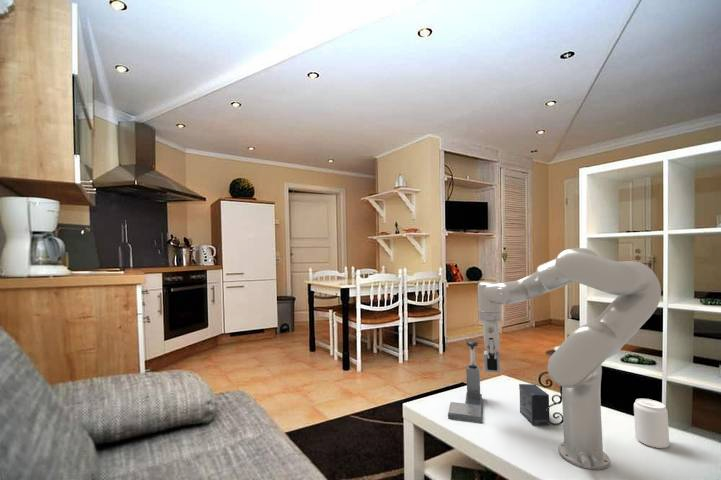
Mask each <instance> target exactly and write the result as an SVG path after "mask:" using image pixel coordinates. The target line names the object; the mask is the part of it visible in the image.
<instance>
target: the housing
mask: <svg viewBox="0 0 721 480" xmlns="http://www.w3.org/2000/svg"><path fill="white" fill-rule="evenodd" d="M493 350H494V349H493ZM499 351H500V350H499ZM499 351H498V350H496V359H497V371H495V370H488V368H487V358H488V351H487V350H483V359H484V364H483V365H484V372H487V373H498V374H499V373H501V368H500V367H501V363H500V362H501V361H500V353H499ZM489 352H490V351H489Z"/></svg>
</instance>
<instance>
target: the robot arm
mask: <svg viewBox="0 0 721 480" xmlns="http://www.w3.org/2000/svg"><path fill="white" fill-rule="evenodd" d="M573 283H577V284H580V285H583V286H587V287H589V288H592V289H595V290H597V291H601V292H603V293H607V294H610V295H614V296H617V297H616V298H615V299H614V300H613V301H611V302H610V303H609V304H608V305H607V306H606V308H605V309H604V310H603V311H602V312H601V314H599V315H598V317H596V318H595V319H594V320H593V321H591V322H588V323H586V324H583V325H581V326H579V327H576V329H575V330H573V331H572V332H571V333H570V334H569V335H568V337H567V338H565V340H564V341H562V342H561V344H560V345H559V347H558V348H556V350H555V351H554V352H553V353H551V355H550V357H549V359H548V361H547V365H546V366H547V374H548V375H549V377H550V379H551V381H553V382H554V383H555V384H557V385H558V386H560V387H561V389H562V390H561V401H562V402H561V403H562V422H563V423H562V424H563V426H562V427H563V442H562V443H560V444H558V454H559V455H560V457H562V458H563V460H565V461H567V462H568V463H569V464H572V465H575V466H577V467H580V468H582V469H583V468H584V469H586V470H587V469H588V470H595V471H596V470H604V469H607V468H608V467H610V465H611V459H610V457H609V456H608V454H607V453H606V452H605V451H604V449H603V427H602V407H601V406H602V403H601V401H602V400H601V399H602V398H601V387H602V386H601V384H602V383H601V382H602V375H603V374H602V373H603V368H602V367H603V366H602V364H603V363H604V362H605V361H606V360H608V359H610V358H611V357H613V356H615V355H616V354H618V353H619V352H620V351H621V349H622V348H623V347H624V346H625V344H627V342H628V341H629V340H630V339H631V338H633V337H634V336H635V334H637V332H638V331H639V330H640V329H641V328H642V326H644V325H645V324H646V322H647V321H648V320H649V319H650V318H652V315H653V314H654V313H655V311H656V310H657V308H658V306H659V304H660V301H661V297H662V290H661V289H662V288H661V283H660V281H659V278H658V277H657V275H656V274H655V272H654V271H653V270H652V269H651V268H650V267H649V266H648V265H646V264H644V263H642V262H639V261H635V260H634V261H632V260H625V261H624V260H623V261H617V260H612V259H609V258H606V257H602V256H599V255H598V254H597V253H596V252H595V251H594V250H592V249H589V248H587V247H586V248H585V247H579V248H578V247H576V248H572V247H571V248H567V249H564V250H562V251H561V252H559V253H558V255H557V256H556V258H553V259H551V260H549V261H547V262H545V263H541V264H540V265H538V266H537V267H536V271H534V273H532V274H530V275H527V276H525V277H522V278H521V279H517V280H514V281H513V280H511V281H505V282H504V281H503V282H496V281H480V282H479V283H477V301H478V302H477V303H478V304H477V305H478V320H479V321H480V322H482V331H483V341H484V342H483V343H484V348H485V351H488V358H487V368H488V370H495V371H497V359H496V351H500V350H501V344H500V328H499V325H500V324H499V322H502V309H501V308H502V307H501V305H503V306H507V305H508V306H509V305H514V304H517V303H522V302H526V301H528V300H531V299H533V298H536V297H539V296H542V295H545V294H547V293H550V292H552V291H555V290H558V289H560V288H563V287H566V286H568V285H571V284H573ZM493 349H494V350H493ZM489 351H490V352H489Z"/></svg>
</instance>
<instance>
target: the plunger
mask: <svg viewBox="0 0 721 480" xmlns="http://www.w3.org/2000/svg"><path fill="white" fill-rule="evenodd" d="M465 343H466V346H467V347H469V359H470V360H469V361H470V363H469V364H470V365H471V368H475V365H476V352H475V349H476V348H475V347H478V346H479V342H478V341H476V340H466V342H465Z"/></svg>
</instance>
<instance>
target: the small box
mask: <svg viewBox="0 0 721 480" xmlns="http://www.w3.org/2000/svg"><path fill="white" fill-rule="evenodd" d="M518 387H519V413H520V414H521V415H522V416H523V417H524V418H525V419H526V420H527V421H528V422H529V423H530V424H531V425H532V426H550V424H551V422H550V420H551V419H550V394H548V393H547V392H545V390H543V389H542V388H540V386H538V385H537V384H525V383H519V384H518ZM548 407H549V408H548ZM547 408H548V409H547ZM546 409H547V411H546Z"/></svg>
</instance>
